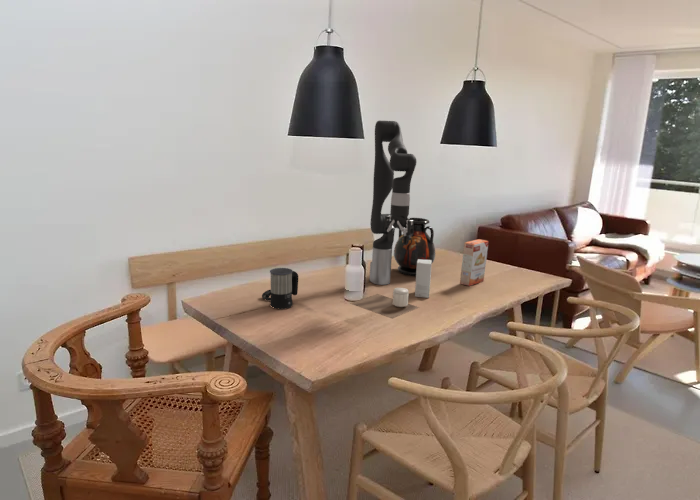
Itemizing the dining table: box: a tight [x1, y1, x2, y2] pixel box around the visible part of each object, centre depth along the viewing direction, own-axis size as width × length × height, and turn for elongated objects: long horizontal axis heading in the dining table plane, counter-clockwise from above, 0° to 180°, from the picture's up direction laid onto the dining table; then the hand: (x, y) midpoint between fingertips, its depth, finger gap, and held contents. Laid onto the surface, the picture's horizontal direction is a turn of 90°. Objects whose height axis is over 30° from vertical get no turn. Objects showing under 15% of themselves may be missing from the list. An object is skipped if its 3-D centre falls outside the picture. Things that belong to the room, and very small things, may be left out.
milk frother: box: [261, 267, 299, 310], centre depth 195 cm, size 14×16×15 cm
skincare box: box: [414, 259, 433, 299], centre depth 212 cm, size 8×7×16 cm
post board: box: [349, 293, 420, 319], centre depth 193 cm, size 22×18×8 cm
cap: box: [392, 287, 409, 307], centre depth 193 cm, size 6×6×6 cm
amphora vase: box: [393, 217, 436, 277], centre depth 246 cm, size 22×22×28 cm
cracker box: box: [459, 238, 489, 287], centre depth 233 cm, size 14×6×21 cm, turn 136°
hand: (397, 242), depth 196 cm, fingers open, 8 cm apart
